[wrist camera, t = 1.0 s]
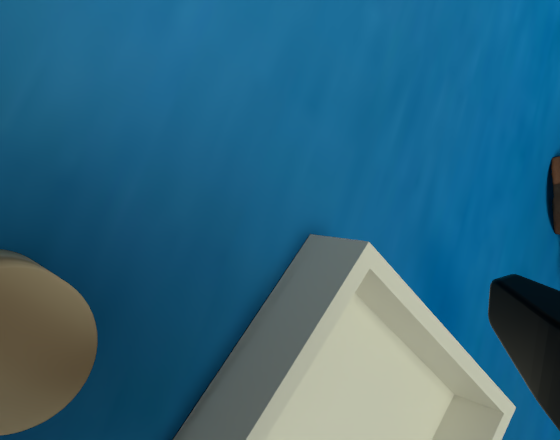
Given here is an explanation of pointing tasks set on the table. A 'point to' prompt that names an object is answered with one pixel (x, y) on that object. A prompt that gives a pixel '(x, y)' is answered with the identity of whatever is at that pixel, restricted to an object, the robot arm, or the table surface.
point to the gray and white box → (347, 362)
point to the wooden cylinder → (40, 343)
